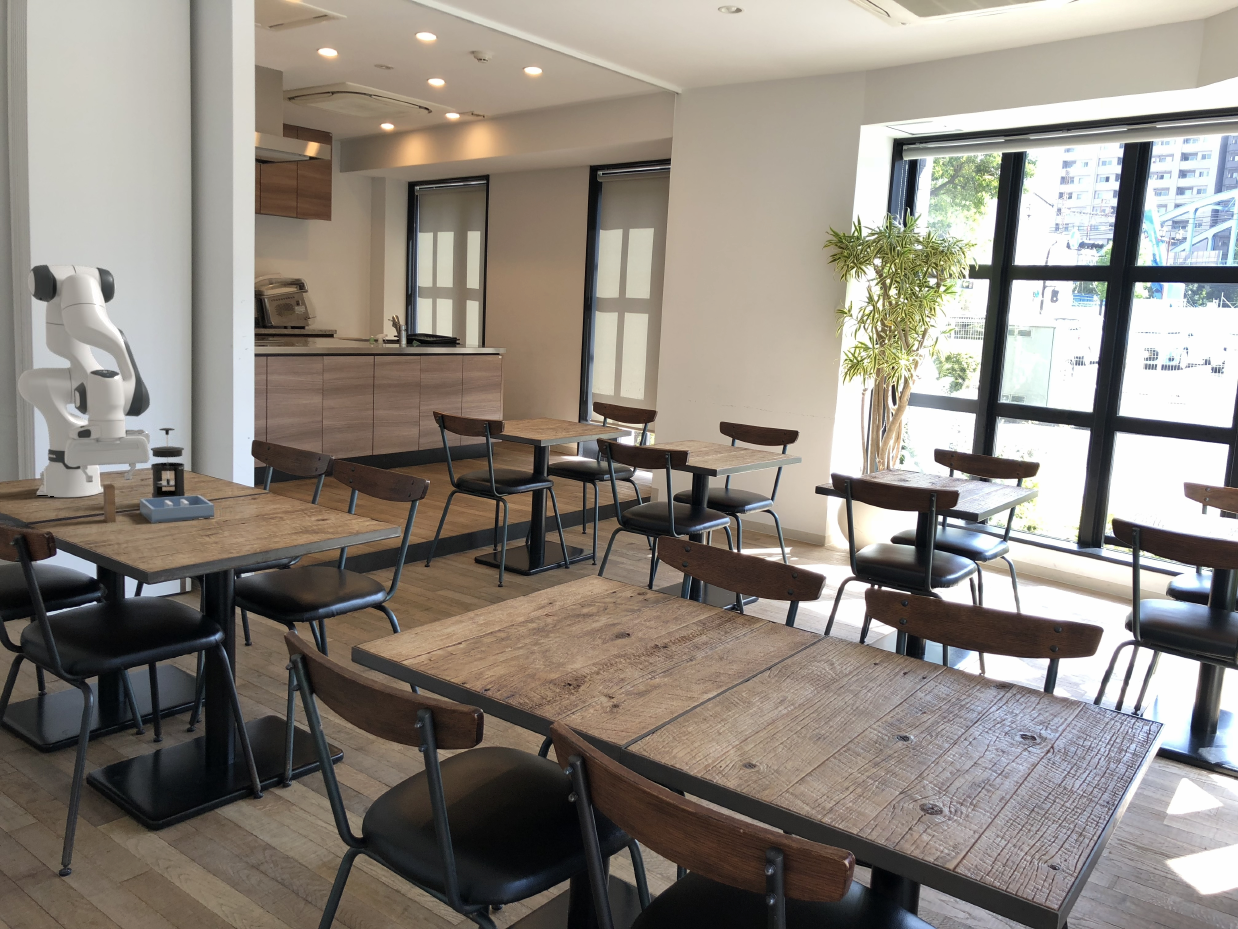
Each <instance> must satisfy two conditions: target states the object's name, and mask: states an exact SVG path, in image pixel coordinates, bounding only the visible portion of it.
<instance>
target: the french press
mask: <svg viewBox="0 0 1238 929" xmlns="http://www.w3.org/2000/svg"><path fill="white" fill-rule="evenodd" d="M158 430H159V431H165V432H164V433H165V436H166V446H164V445H162V446H159V447H158V446H157V447H156V446H155V447H152V448H150V450H151V451H152V457H154V458H166V462H157V463H152V464H150V465H151V466H150V468H151V471H152V492H151V498H162V497H177V496H186V492H185V463H183V462H170V461H169V458H179V457H183V451H184V450H185V448H184V447H182V446H181V447H180V446H173V445H172V446H171V445H170V446H169V435H170V431H175V428H171V427H162V428H159V429H158ZM163 472H167V473H166V474H167V478H166V480H163ZM170 472H173V473H174V474H173V476H174V477H173V478H174V479H173V480H170V474H169V473H170ZM163 488H174V489H173V490H170V489H169V490H168V489H167V490H163Z"/></svg>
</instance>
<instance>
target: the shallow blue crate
mask: <svg viewBox="0 0 1238 929" xmlns="http://www.w3.org/2000/svg"><path fill="white" fill-rule="evenodd" d="M139 513H140V514H141V515H142V516H143V517H145V519H146V520H148V521H149V522H150V523H151V522H152V523H151V524H158V523H157V522H164V523H173V521H176V522H183V521H182V520H188V521H193V520H192V519H199V518H210V517H214V518H215V504H214V503H212V502H211V501H209V500H207V499H206V498H205V497H203V496H202V495H200V494H197V495H196V494H195V495H194V494H193V495H185V496H177V497H162V498H152V497H150V498H149V497H148V498H139Z"/></svg>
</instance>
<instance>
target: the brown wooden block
mask: <svg viewBox="0 0 1238 929" xmlns="http://www.w3.org/2000/svg"><path fill="white" fill-rule="evenodd" d="M102 487H103V492H102V493H103V496H102V497H103V520H104V521H105V522H106V523H108V524H110V522H111V524H113V523H112V522H114V523H116V522H117V521H116V520H117V519H116V516H117V515H116V514H117V513H116V486H115V485H114V484H113V483H112V482H111V483H109V482H108V483H103V484H102Z"/></svg>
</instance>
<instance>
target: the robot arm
mask: <svg viewBox="0 0 1238 929" xmlns="http://www.w3.org/2000/svg"><path fill="white" fill-rule="evenodd" d="M27 286H28V289H29V291H30V294H31V296H32V297H33V298H34V299H36V300H37V301H41V302H45V303H46V308H45V344H46V347H47V349H48V350H49V352H52V353H53V354H54V355H56V356H58V357H60V358H63V359H64V360H65V359H66V360H67V361H69V364H70V365H69V366H70V367H38V368H32V369H27V370H25V371H23V372H22V373H21V375H20V377H19V378H18V380H17V389H18V392H19V394H20V396H21V397H22V398H23V399H24V400H25V401H26V402H27V403H29V404H31V405H32V406H34V407H35V408H36V409H37V410H38V411H39V412H40V414H41V415H42V416H43V418H44V420H45V423H46V426H47V432H48V442H49V444H48V445H49V448H48V450H47V451H48V452H47V461H48V464H47V465H46V466H45V468H43V470H42V471H41V472H40V474H39V475H40V476H39V478H40V481H41V480H42V482H41V485H40V487H39V489H38V490H37V491H36V496H37V495H48V496H47V497H50V496H54V497H53V498H80V497H88V496H94V495H97V494H101V493H103V486H101V476H100V474H101V473H100V467H99V466H107V465H128V467H129V468H130V469H129V470H128V472H125V473H124V480H125V481H131V480H133V473H134V471H135V470H136V468H137V464H148V463H149V461H150V460H151V455H150V454H151V453H150V448H149V444H150V443H151V438H150V433H149V432H148V431H146V430H144V429H126V428H127V427H126V417H135V418H136V417H139V416H142V414H145V413H146V411H147V410H148V409H149V407H150V405H151V398H150V393H149V390H148V388H147V385H146V384H145V382H144V380H143V378H142V376H141V372H140V371H139V368H138V365H137V362H136V360H135V357H134V354H133V352H132V348H131V346H130V344H129V341H128V339H127V337H126V335H125V333H124V332H123V330H122V329H120V328H118V327H117V326H115V324H114V323H113V322H112V321H111V319H110V317H109V315H108V312H107V307H106V306H107V305H106V303H109V302H111V301H112V300H113V299H114V297H115V294H116V289H117V287H116V286H117V285H116V280H115V278H114V275H113V274H112V272H111V271H110V270H108V269H105V268H102V267H91V266H86V265H85V266H84V265H79V264H78V265H77V264H70V265H67V264H65V265H63V264H60V265H59V264H58V265H57V264H55V265H48V264H39V265H34V266H32V268H31V269H30V271H29V273H28V278H27ZM91 347H94V348H97V349H99V350H102V351H104V352H107V353H108V354H109V355H111V356H112V357H113V359H114V360H115V363H116V364H117V367H118V370H119V372H117V371H115V370H111V369H105V368H104V367H103V366H101V365H100V364H99V363H98V361H97V359H96V358H95V357H94V355H93V353H92V351H91V350H92V349H91ZM73 404H74V408H75V409H76V410H77V411H78V412H79V413H80V414H82V415H84V416H88V418H87V419H85V418H83V417H81V416H79V415H77V414H74V413H72V412H70V411H69V410H68V407H67V406H68V405H73Z"/></svg>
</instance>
